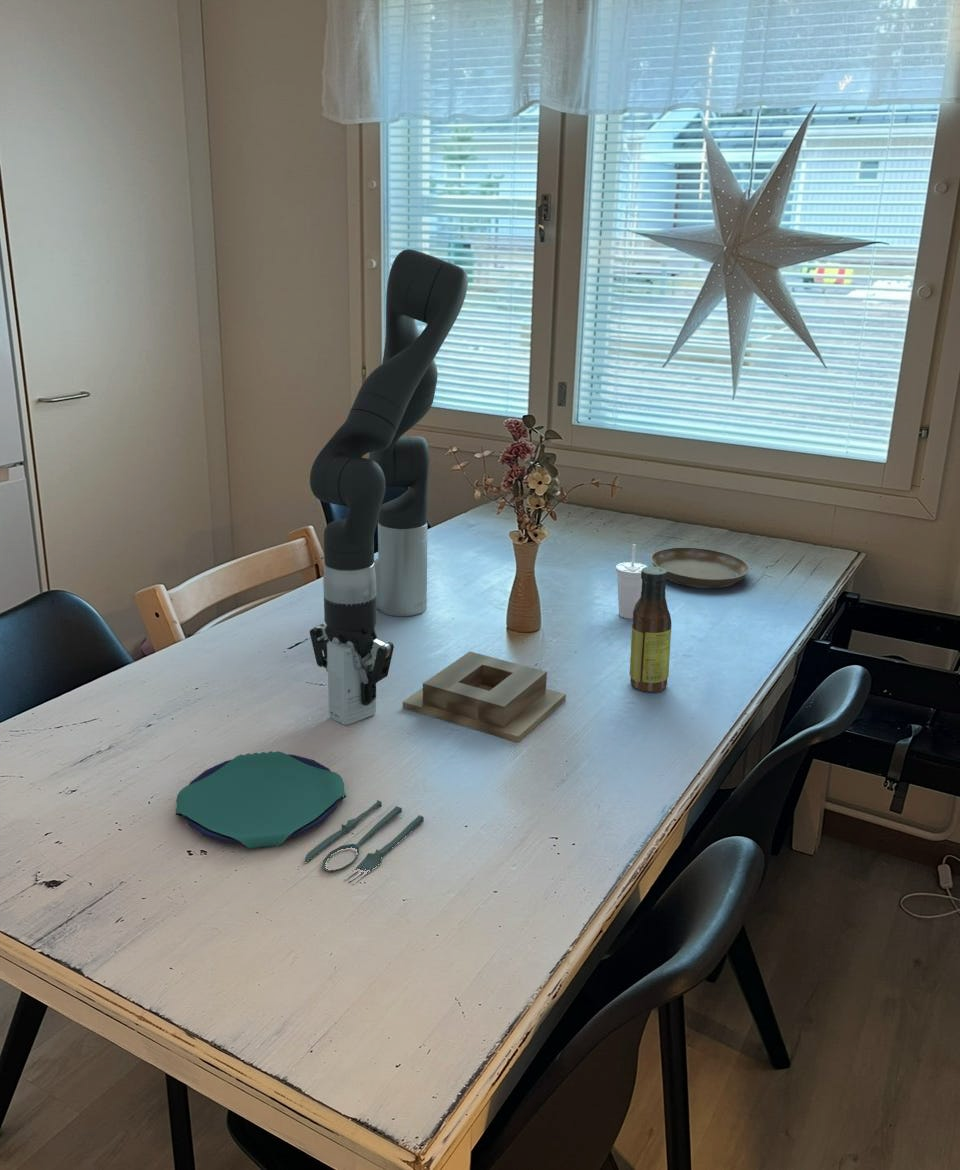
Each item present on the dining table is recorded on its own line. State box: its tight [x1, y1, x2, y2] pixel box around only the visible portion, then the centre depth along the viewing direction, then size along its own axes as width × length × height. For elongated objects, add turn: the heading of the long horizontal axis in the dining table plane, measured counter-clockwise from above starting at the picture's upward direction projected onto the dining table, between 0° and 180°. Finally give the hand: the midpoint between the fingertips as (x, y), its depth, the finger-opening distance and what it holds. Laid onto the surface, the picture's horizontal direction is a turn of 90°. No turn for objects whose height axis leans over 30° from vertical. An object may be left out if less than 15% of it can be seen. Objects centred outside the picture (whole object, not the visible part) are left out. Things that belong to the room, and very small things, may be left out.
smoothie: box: [615, 543, 649, 620], centre depth 186 cm, size 6×6×14 cm
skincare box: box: [327, 641, 377, 726], centre depth 146 cm, size 6×4×12 cm
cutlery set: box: [174, 750, 425, 874], centre depth 123 cm, size 20×30×2 cm, turn 58°
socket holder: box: [402, 651, 567, 743], centre depth 152 cm, size 20×16×4 cm
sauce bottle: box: [629, 566, 672, 693], centre depth 157 cm, size 7×6×20 cm
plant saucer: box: [650, 546, 750, 589], centre depth 211 cm, size 21×21×3 cm
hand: (352, 698), depth 147 cm, fingers closed on skincare box, 5 cm apart
